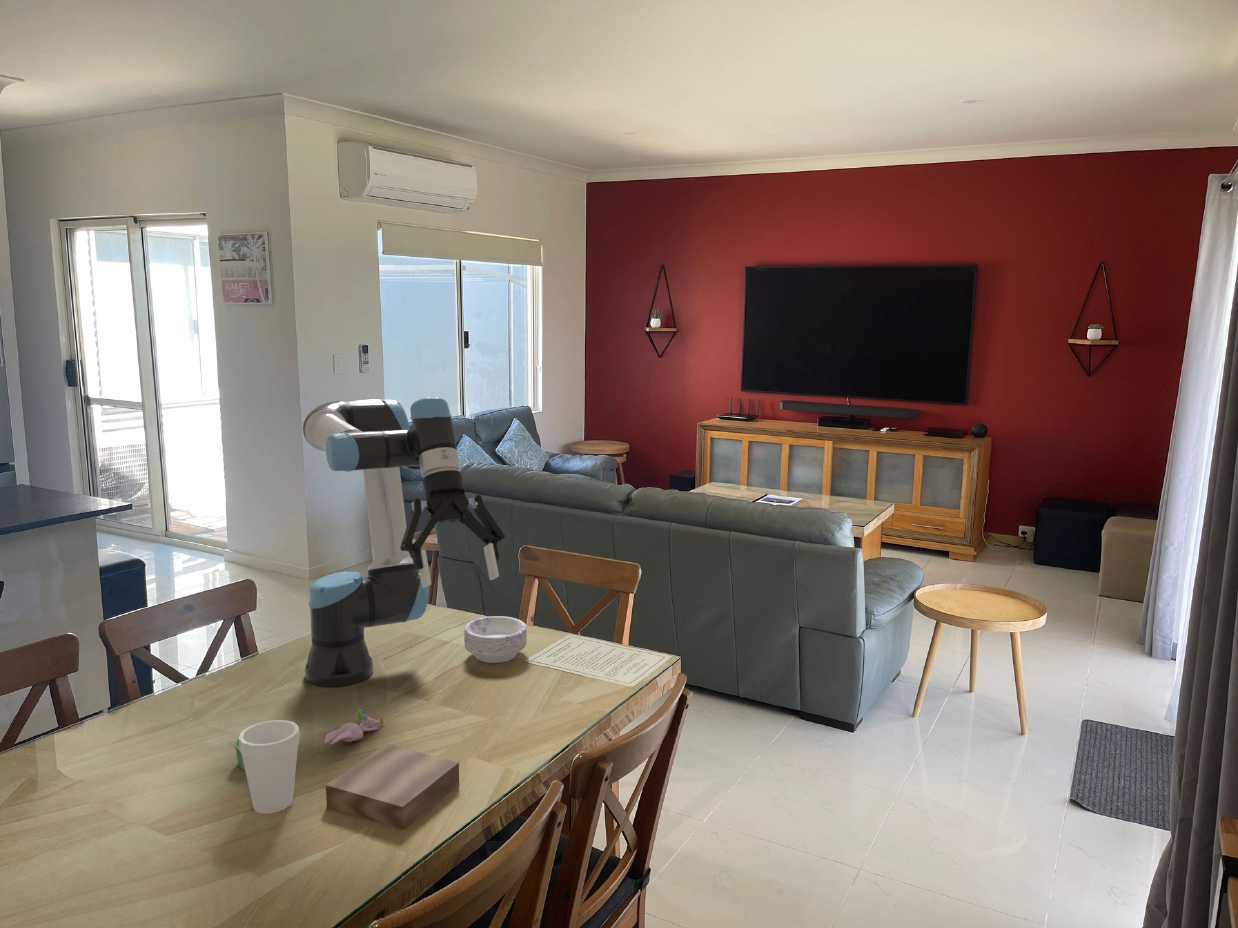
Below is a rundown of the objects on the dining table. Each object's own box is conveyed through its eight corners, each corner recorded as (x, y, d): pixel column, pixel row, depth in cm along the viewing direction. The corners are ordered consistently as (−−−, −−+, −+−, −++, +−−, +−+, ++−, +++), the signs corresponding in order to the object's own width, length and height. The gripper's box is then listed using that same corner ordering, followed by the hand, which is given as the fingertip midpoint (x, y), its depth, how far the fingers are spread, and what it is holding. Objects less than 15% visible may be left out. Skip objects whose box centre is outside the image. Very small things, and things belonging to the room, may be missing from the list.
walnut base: (326, 806, 150) (325, 784, 149) (387, 763, 164) (386, 743, 164) (403, 829, 144) (402, 806, 143) (459, 782, 158) (458, 762, 157)
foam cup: (282, 821, 145) (277, 748, 143) (232, 814, 147) (227, 742, 145) (312, 791, 155) (309, 722, 152) (265, 785, 156) (261, 717, 154)
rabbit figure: (365, 728, 182) (314, 748, 168) (367, 699, 182) (316, 717, 168) (390, 733, 179) (340, 755, 166) (392, 704, 179) (342, 723, 165)
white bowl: (523, 668, 209) (522, 637, 208) (459, 668, 210) (458, 636, 208) (530, 645, 224) (530, 615, 223) (470, 644, 225) (470, 614, 223)
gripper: (384, 470, 160) (403, 584, 154) (507, 465, 174) (529, 569, 168) (372, 484, 165) (389, 594, 160) (492, 478, 180) (512, 579, 174)
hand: (461, 582), depth 164 cm, fingers open, 13 cm apart
